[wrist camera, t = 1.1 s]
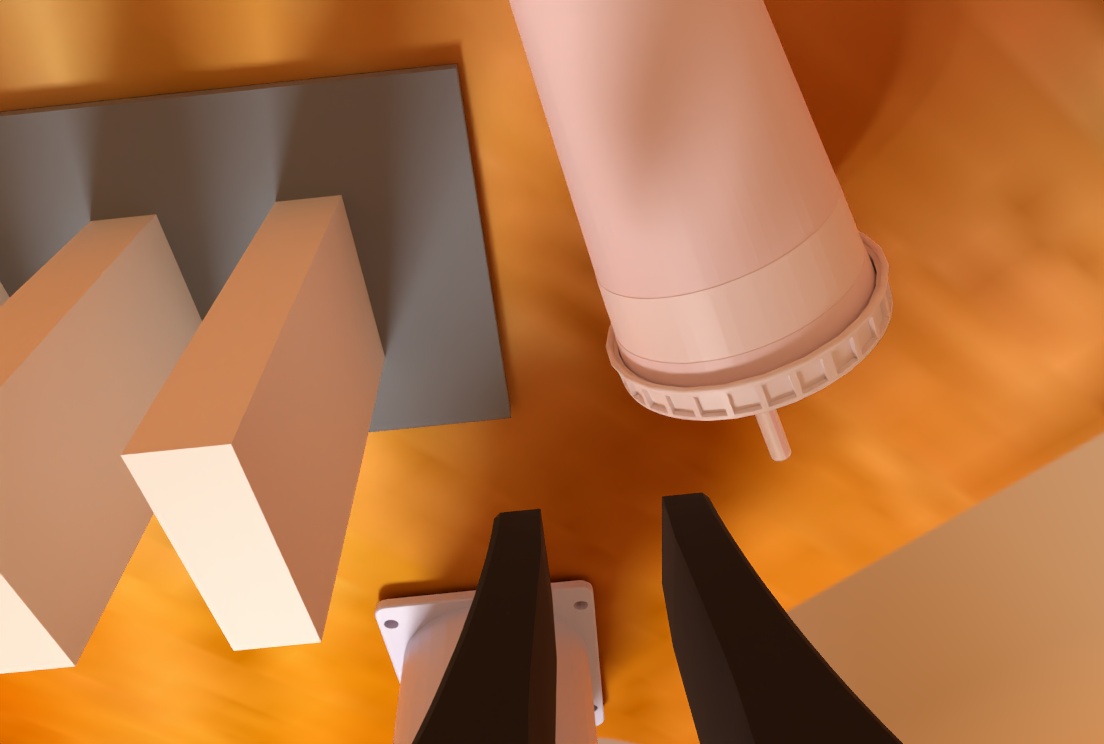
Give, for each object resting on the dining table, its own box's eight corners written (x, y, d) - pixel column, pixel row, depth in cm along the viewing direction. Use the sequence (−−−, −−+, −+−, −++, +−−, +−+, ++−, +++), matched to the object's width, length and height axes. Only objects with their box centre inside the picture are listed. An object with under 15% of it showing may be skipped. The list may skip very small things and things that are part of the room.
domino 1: (155, 214, 18) (-80, 475, 11) (224, 373, 21) (75, 666, 14) (90, 221, 18) (-189, 486, 11) (167, 379, 21) (-12, 674, 14)
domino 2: (341, 194, 18) (230, 443, 11) (385, 357, 21) (321, 641, 14) (275, 201, 18) (120, 455, 11) (327, 363, 21) (233, 650, 14)
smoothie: (380, -11, 15) (635, 480, 22) (498, -72, 9) (790, 611, 16) (634, -151, 16) (800, 356, 23) (871, -276, 11) (993, 439, 17)
